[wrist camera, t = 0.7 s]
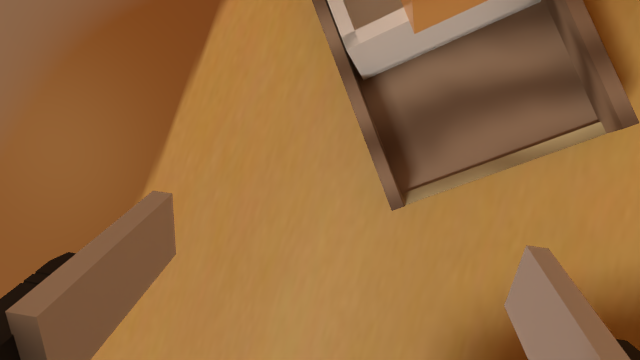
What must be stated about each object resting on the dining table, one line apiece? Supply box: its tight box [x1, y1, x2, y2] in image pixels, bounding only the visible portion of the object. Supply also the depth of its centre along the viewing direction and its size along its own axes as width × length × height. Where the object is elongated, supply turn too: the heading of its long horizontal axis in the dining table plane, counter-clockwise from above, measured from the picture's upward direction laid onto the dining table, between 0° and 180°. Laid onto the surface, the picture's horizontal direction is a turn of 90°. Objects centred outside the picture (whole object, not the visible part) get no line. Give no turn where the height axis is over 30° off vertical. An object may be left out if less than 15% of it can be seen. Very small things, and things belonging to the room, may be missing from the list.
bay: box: [312, 0, 639, 211], centre depth 33 cm, size 24×18×4 cm
